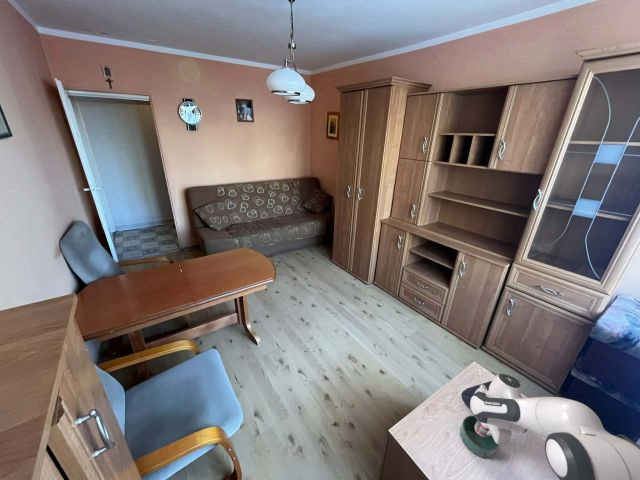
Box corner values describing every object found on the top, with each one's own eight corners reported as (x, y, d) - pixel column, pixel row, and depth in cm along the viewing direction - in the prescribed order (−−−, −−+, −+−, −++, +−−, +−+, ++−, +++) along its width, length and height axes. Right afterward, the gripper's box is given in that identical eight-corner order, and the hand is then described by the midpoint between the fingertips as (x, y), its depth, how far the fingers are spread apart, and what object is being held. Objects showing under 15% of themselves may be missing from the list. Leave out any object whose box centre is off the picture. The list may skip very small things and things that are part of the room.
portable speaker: (471, 417, 126) (478, 404, 122) (456, 398, 135) (462, 385, 131) (510, 404, 134) (518, 391, 129) (493, 386, 142) (500, 373, 138)
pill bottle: (476, 435, 113) (483, 422, 109) (472, 422, 118) (479, 409, 113) (490, 439, 112) (498, 425, 108) (485, 425, 117) (493, 412, 112)
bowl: (500, 460, 111) (505, 452, 109) (467, 456, 112) (471, 448, 109) (484, 424, 124) (488, 417, 121) (454, 421, 124) (457, 414, 122)
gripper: (475, 381, 116) (466, 400, 122) (500, 431, 98) (488, 451, 104) (490, 382, 116) (480, 402, 122) (518, 433, 98) (504, 453, 104)
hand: (484, 425), depth 113 cm, fingers closed on pill bottle, 5 cm apart
